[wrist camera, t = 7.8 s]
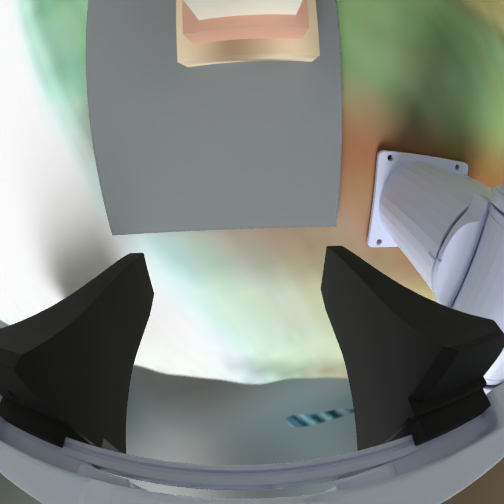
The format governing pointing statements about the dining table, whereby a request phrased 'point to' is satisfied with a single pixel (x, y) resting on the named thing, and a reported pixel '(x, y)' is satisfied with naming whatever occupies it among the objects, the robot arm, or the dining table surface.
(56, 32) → the dining table surface
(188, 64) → the bottom slab
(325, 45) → the mat
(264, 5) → the top block
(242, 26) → the middle block
